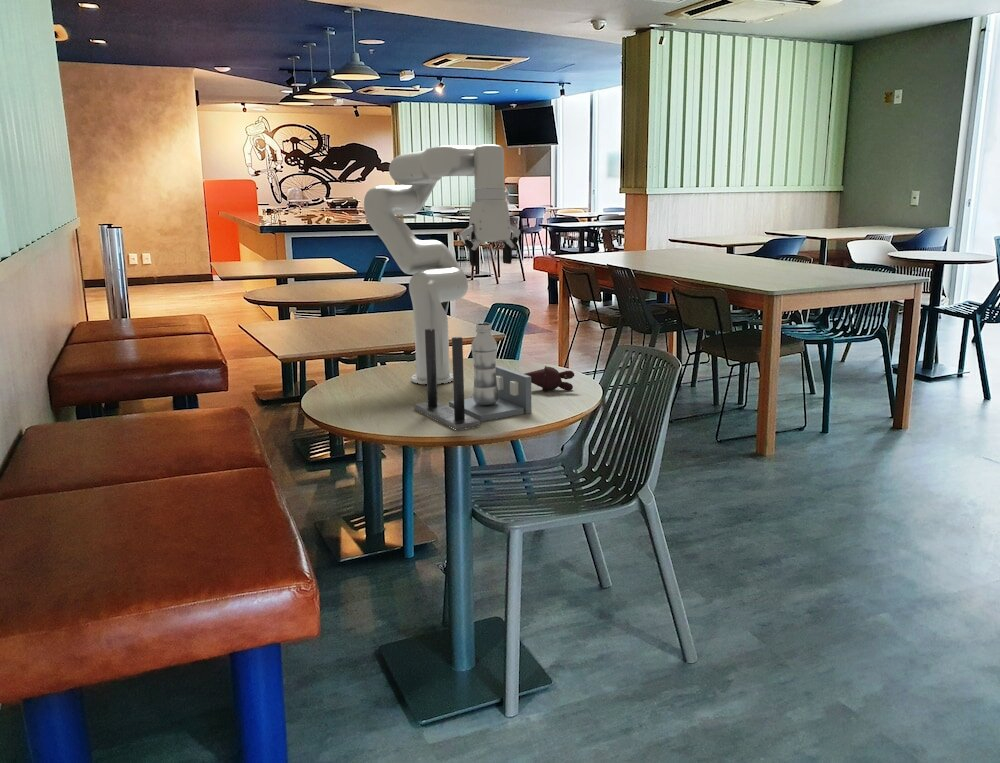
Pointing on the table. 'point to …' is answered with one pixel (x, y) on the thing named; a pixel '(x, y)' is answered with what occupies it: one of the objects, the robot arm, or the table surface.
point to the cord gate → (441, 411)
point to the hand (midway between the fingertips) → (491, 264)
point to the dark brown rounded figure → (551, 378)
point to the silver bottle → (484, 366)
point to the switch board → (503, 397)
